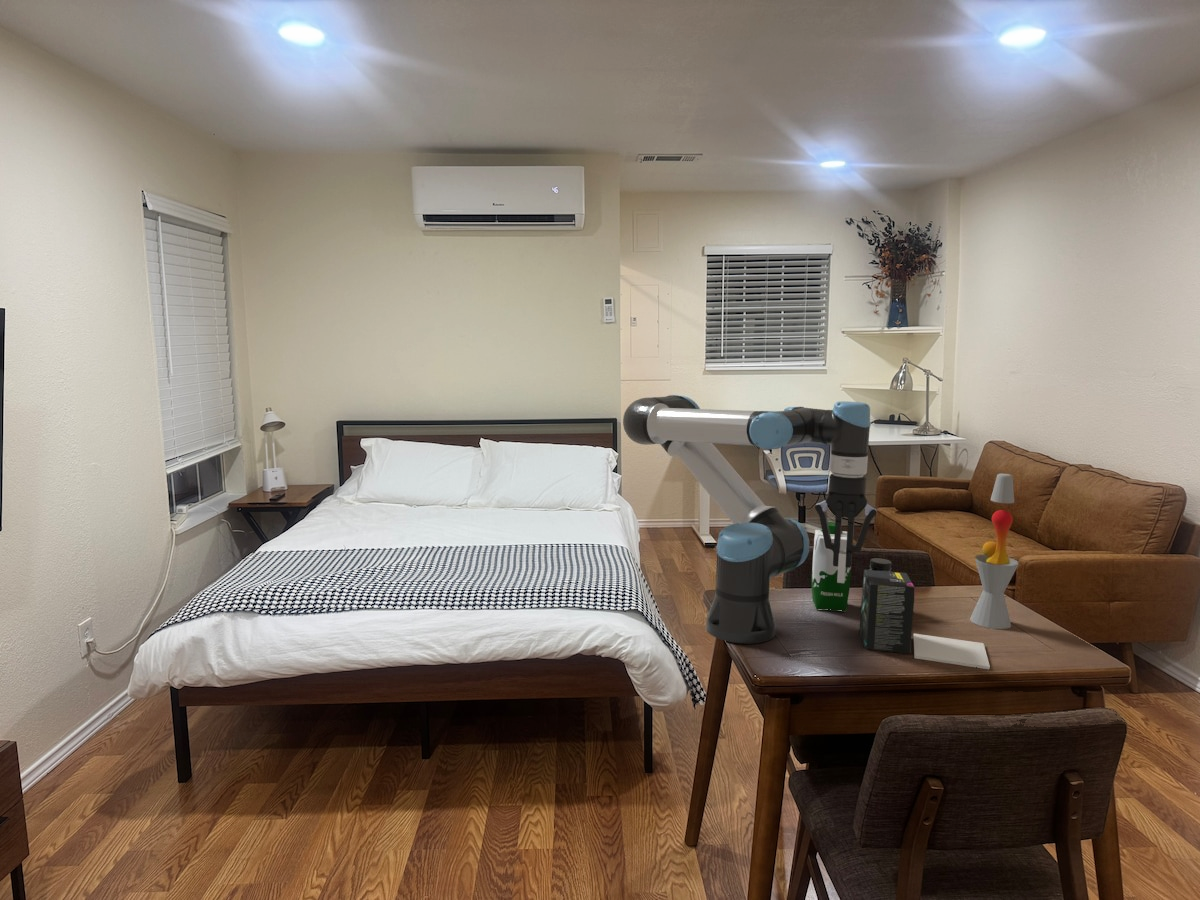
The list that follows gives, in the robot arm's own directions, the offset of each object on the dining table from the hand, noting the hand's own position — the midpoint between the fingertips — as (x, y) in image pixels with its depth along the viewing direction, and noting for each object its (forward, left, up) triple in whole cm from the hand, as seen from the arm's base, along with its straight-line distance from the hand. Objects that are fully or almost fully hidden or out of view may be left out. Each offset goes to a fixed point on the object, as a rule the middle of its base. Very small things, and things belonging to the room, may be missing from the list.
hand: (841, 581), depth 172 cm
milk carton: (-3, +19, -13) cm, 23 cm away
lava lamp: (+33, +23, -13) cm, 42 cm away
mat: (+23, 0, -12) cm, 26 cm away
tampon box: (+10, 0, -13) cm, 16 cm away
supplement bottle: (+8, +22, -13) cm, 27 cm away
